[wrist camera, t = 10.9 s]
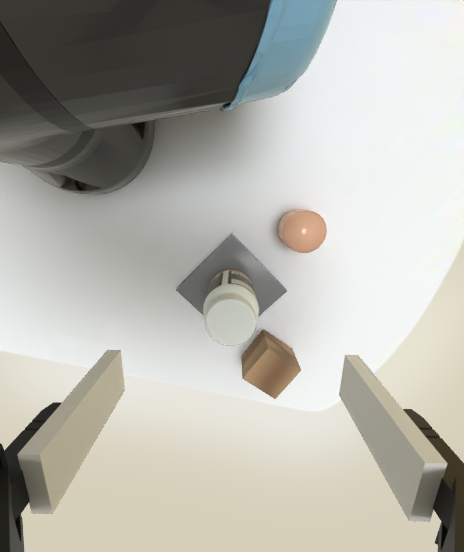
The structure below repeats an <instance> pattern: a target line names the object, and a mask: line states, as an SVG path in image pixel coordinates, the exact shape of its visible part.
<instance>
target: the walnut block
mask: <svg viewBox="0 0 464 552" xmlns="http://www.w3.org/2000/svg"><path fill="white" fill-rule="evenodd" d="M241 357H242V376H243V379H244V380H246V381H247V382H249V383H251V384H252V385H254V386H255V387H257V388H258V389H260V390H262V391H263V392H265V393H266V394H268V395H270V396H271V397H273V398H274V399H276V398H277V397H278V396H279V394H280V393H281V392H282V391H283V390H284V389H285V388H286V387H287V386H288V384H289V383H290V382H291V381H292V380H293V379H294V378H295V377H296V375H297V374H298V373H299V372H300V371H301V369H300V366H299V364H298V362H297V359H296V357H295V354H294V352H293V350H292V348H290V347H289V346H287V345H286V344H284V343H283V342H281V341H280V340H278V339H277V338H275V337H274V336H272V335H271V334H269V333H268V332H266V331H265V330H262V332H261V333H260V334H259V335H258V337H257V338H256V339H255V340H254V341H253V343H252V344H251V345H250V346H249V348H248V349H247V350H246V351H245V352H244V354H243V355H242V356H241Z"/></svg>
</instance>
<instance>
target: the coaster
mask: <svg viewBox="0 0 464 552" xmlns="http://www.w3.org/2000/svg"><path fill="white" fill-rule="evenodd" d="M225 270H237V271H240V272H242V273H244V274H245V275H246V276H247V277H248V278H249V279H250V280H251V282H252V284H253V287H254V291H255V295H256V299H257V302H258V305H259V315H261V314H262V313H263V312H264V311H265V310H266V309H267V308H268V307H270V306H271V305H272V304H273V303H274V302H275V301H276V300H277V299H279V298H280V297H281V296H282V295H283V294H284V293H285V292H287V290H286V289H285V288H284V287H283V286H282V285H281V284H280V282H279V281H278V280H277V279H276V278H275V277H274V276H273V275H272V274H271V273H270V272H269V271H268V270H267V269H266V268H265V267H264V266H263V265H262V264H261V263H260V262H259V261H258V260H257V259H256V258H255V257H254V256H253V255H252V254H251V253H250V252H249V251H248V250H247V249H246V248H245V247H244V246H243V244H242V243H241V242H240V241H239V240H238V239H237V238H236V237H235V236H234V235H233V234H231V235H230V236H229V237H228V238H227V239H226V240H225V241H224V242H223V243H222V244H221V245H220V246H219V247H218V248H217V249H216V250H215V251H214V252H213V253H212V254H211V255H210V256H209V257H208V258H207V259H206V260H205V261H204V262H203V263H202V264H201V265H200V266H199V267H198V268H197V269H196V270H195V271H194V272H193V273H192V274H191V275H190V276H189V277H188V278H187V279H186V280H185V281H184V282H183V283H182V284H181V285H180V286H179V287H178V288H177V289H176V290H177V291H178V292H179V293H180V294H181V295H182V296H183V297H184V298H185V299H187V300H188V301H189V302H190V303H191V304H192V305H193V306H194V307H195V308H196V309H197V310H198V311H200V312H201V313H202V314H203V305H204V301H205V298H206V294H207V291H208V288H209V285H210V283H211V281H212V279H213V278H214V277H215V276H216V275H217V274H218V273H220V272H222V271H225ZM203 315H204V314H203ZM259 315H258V316H259Z"/></svg>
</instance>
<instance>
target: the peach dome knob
mask: <svg viewBox="0 0 464 552" xmlns="http://www.w3.org/2000/svg"><path fill="white" fill-rule="evenodd" d="M278 234H279V237H280V239H281V240H282V241H283V242H284V243H285V244H286V245H288V246H289V247H290V248H291V249H293V250H294V251H297V252H300V253H308V252H311V251H314V250H315V249H317V248H318V247H319V246H320V245H321V244H322V243H323V241H324V239H325V237H326V224H325V222H324V220H323V218H322V217H321V216H320V215H319V214H317V213H315V212H313V211H306V210H292V211H290V212H288V213H286V214H285V215H284V216H283V217H282V218H281V220H280V222H279V224H278Z"/></svg>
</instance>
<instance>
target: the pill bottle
mask: <svg viewBox="0 0 464 552" xmlns="http://www.w3.org/2000/svg"><path fill="white" fill-rule="evenodd" d="M203 314H204V318H205V324H206V329H207V331H208V333H209V335H210V336H211V337H212V338H213V339H214V340H215V341H216V342H218V343H220V344H223V345H227V346H234V345H239V344H241V343H244V342H245V341H247V340H248V339H249V338H250V337H251V336H252V334H253V333H254V331H255V328H256V321H257V319H258V315H259V305H258V302H257V299H256V295H255V291H254V287H253V284H252V282H251V280H250V279H249V278H248V277H247V276H246V275H245V274H244V273H242V272H240V271H237V270H225V271H222V272H220V273H218V274H217V275H216V276H215V277H214V278H213V279H212V281H211V283H210V285H209V288H208V291H207V294H206V298H205V301H204V305H203Z"/></svg>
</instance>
